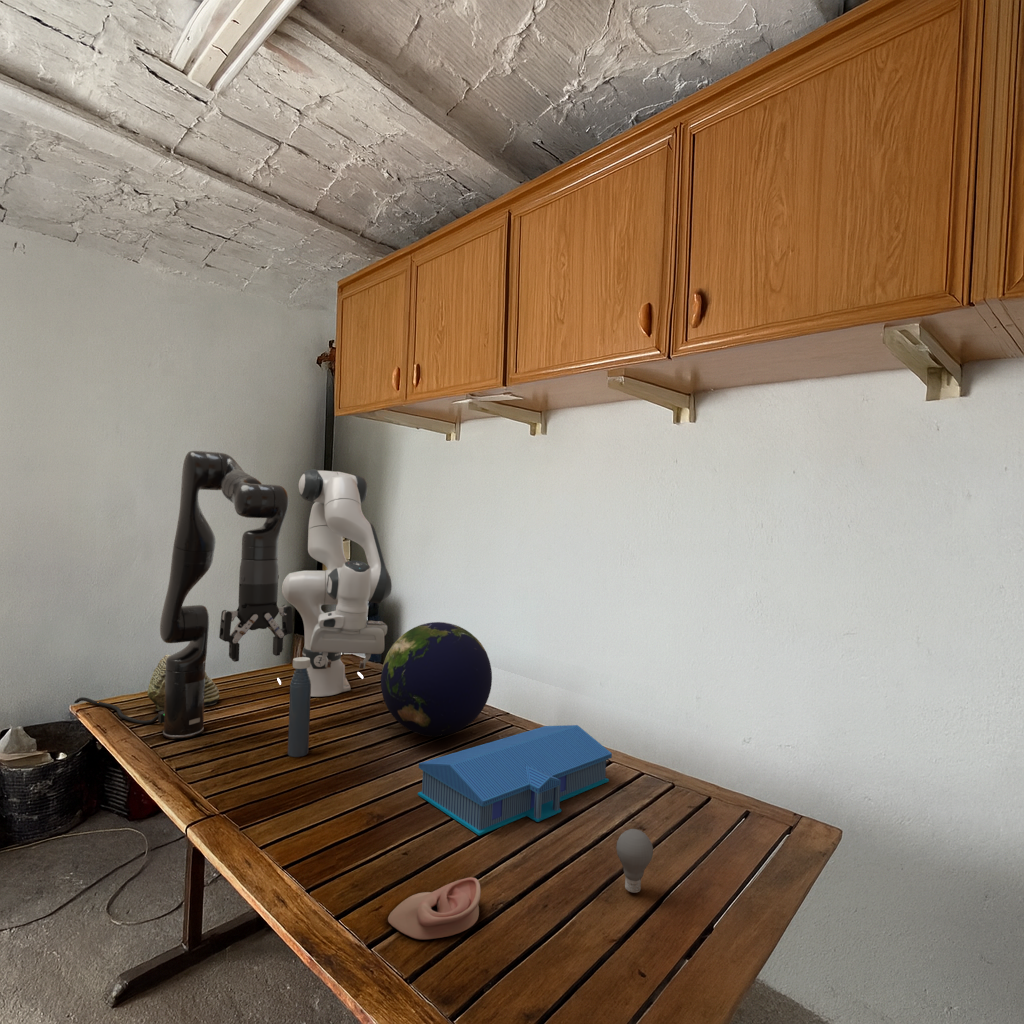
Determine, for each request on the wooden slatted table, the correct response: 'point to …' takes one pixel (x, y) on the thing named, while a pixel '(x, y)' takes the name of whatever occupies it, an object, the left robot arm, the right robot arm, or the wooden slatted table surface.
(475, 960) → the wooden slatted table surface
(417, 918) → the anatomical model
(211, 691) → the fossil
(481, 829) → the model building
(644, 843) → the light bulb
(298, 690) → the bottle
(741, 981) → the wooden slatted table surface
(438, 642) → the globe
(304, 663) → the cap
